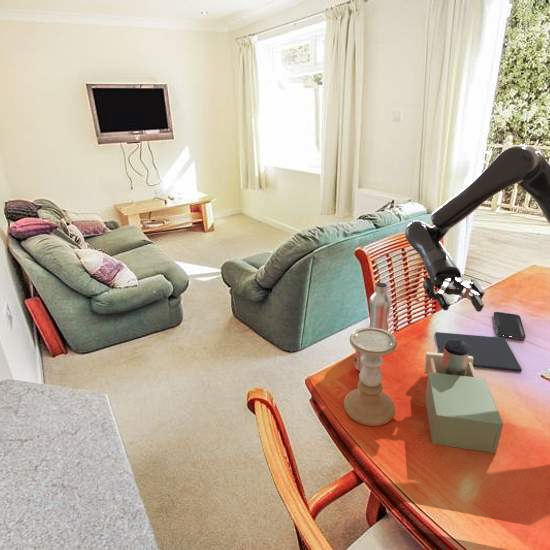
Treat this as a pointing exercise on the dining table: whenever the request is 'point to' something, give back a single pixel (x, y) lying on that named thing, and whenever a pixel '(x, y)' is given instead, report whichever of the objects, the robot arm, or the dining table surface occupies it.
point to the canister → (455, 358)
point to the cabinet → (462, 412)
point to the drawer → (435, 363)
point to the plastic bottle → (380, 307)
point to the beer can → (358, 360)
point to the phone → (509, 325)
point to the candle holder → (371, 378)
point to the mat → (484, 350)
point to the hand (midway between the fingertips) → (464, 308)
